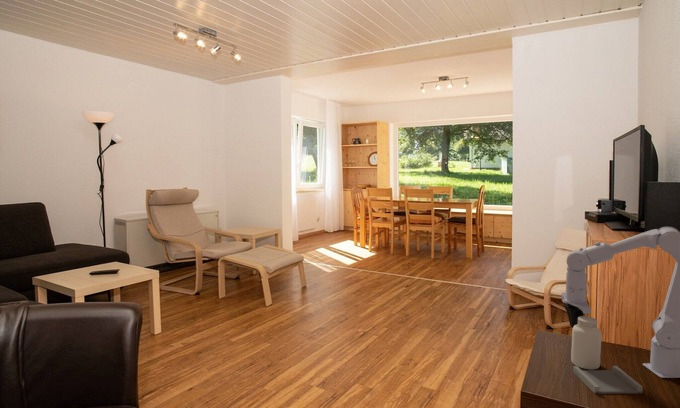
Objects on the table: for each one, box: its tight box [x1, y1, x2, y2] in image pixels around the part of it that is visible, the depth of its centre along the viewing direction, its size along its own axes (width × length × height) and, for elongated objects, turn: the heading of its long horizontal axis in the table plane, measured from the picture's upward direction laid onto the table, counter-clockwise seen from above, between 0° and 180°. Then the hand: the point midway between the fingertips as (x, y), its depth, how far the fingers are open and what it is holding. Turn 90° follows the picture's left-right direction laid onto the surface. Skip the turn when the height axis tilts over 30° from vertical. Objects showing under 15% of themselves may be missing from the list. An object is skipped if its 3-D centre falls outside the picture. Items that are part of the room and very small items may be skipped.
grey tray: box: [572, 365, 643, 395], centre depth 121 cm, size 13×12×2 cm
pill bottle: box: [570, 315, 603, 370], centre depth 131 cm, size 8×8×15 cm
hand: (574, 326), depth 137 cm, fingers closed
